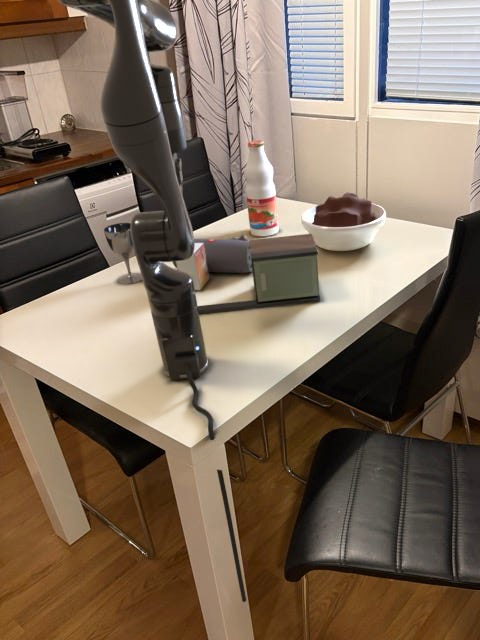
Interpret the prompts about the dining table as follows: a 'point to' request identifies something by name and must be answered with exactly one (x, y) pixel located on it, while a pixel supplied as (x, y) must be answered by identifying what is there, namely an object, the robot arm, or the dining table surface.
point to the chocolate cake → (343, 222)
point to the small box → (196, 266)
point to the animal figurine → (239, 238)
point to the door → (286, 278)
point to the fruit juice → (260, 192)
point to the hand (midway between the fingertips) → (179, 212)
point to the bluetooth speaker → (226, 255)
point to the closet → (281, 247)
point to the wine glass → (122, 248)
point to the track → (256, 304)
